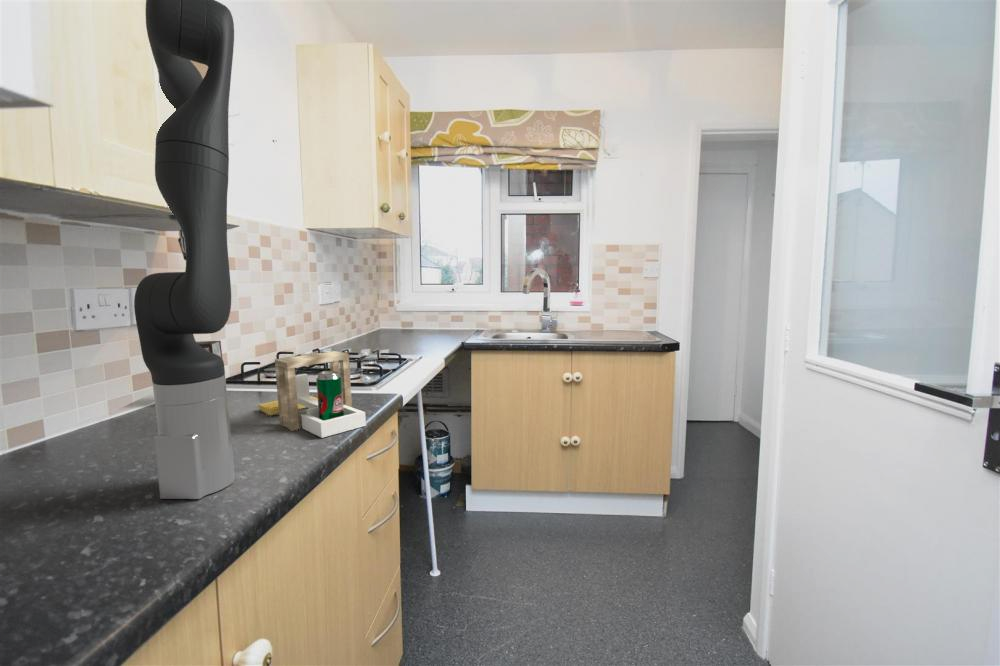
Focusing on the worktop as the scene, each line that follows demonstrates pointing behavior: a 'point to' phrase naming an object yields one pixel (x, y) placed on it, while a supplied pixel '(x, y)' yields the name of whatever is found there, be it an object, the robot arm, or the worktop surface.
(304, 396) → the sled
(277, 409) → the yellow rectangular frame
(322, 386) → the soda can
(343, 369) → the tunnel
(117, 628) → the worktop surface
